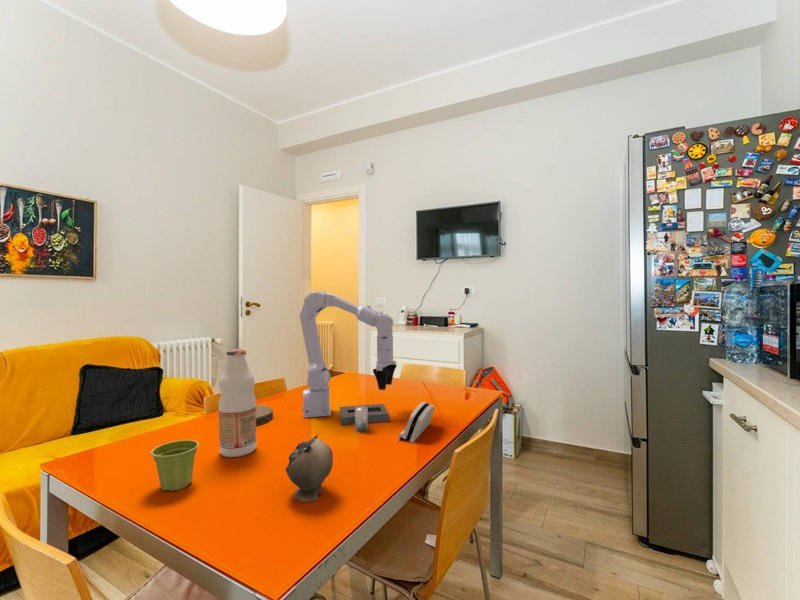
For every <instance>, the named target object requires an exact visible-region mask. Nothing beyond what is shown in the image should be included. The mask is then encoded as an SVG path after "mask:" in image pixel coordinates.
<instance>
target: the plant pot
mask: <svg viewBox="0 0 800 600" xmlns="http://www.w3.org/2000/svg"><path fill="white" fill-rule="evenodd" d="M199 445H200V444H199V441H197V440H194V439H193V440H192V439H181V440H175V441H174V440H173V441H170V442H166V443H163V444H160V445H158V446H156V447H154V448H153V449H152V450H151V451H150V455H151V456H152V457H153V460H154V462H155V465H156V470H157V476H158V480H159V485H160V489H161V490H162V491H164V492H165V491H171V492H174V491H178V490H181V489H184V488H186V487H187V486H188V485H189V484H191V483H192V481H193V480H192V479H193V472H194V464H195V456H196V452H197V448H198V447H199Z"/></svg>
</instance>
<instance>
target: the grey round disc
mask: <svg viewBox="0 0 800 600" xmlns="http://www.w3.org/2000/svg"><path fill="white" fill-rule="evenodd" d="M273 410H274V409H273V407H271V406H268V405H263V404H258V405H257V404H256V427H258V426H261V425H264V424H266V423H269V422H270V421H271V420H273V418H274V412H273Z"/></svg>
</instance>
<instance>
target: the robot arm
mask: <svg viewBox="0 0 800 600" xmlns="http://www.w3.org/2000/svg"><path fill="white" fill-rule="evenodd" d="M328 307H335V308H339V309H340V310H343V311H345V312H347V313H351V314H353V315H355V316H356V319H357V320H358V321H360V322H361V323H364V324H366V325H368V326H370V327H373V328H374V327H375V328H376V331H377V335H376V365H375V368H373V370H372V373H373V375H374V376H375V379H376V382H377V386H378V390H379V391H386V388H387V385H388V386H391V385H392V383H393V378H394V373H395V370H396V369H397V367H398V366H397V361H396V360H394V336H393V333H394V331H393V327H394V319H393V317H392V316H390V315H389V314H388V313H386V314H385V313H384V312H383V311H381V310H380V311H378V310H377V309H374V308H372V306H371V305H368V304H367V305H365V304H364V305H361V306H359V305H357V304H355V303H353V302H351V301H349V300H347V299H345V298H342V297H340V296H338V295H336V294H333V293H330V292H327V291H325V290H320V291H319V290H313V291H310V292H309V293H308V294H307V295H306V296H305V298H304V300H303V304H302V308H301V311H300V314H299V320H300V325H301V329H302V335H303V340H304V345H305V350H306V355H307V356H306V357H307V362H308V366H307V379H306V384H307V386H308V388H307V389H304V390H303V392H302V394H303V395H302V397H303V398H302V400H303V402H302V403H303V404H302V411H303V418H316V417H329V416H332V411H331V409H332V408H331V403H330V402H331V401H330V386H329V382H330V381H331V378H332V376H331V373H330V371H329V369H328V368H327V364H326V363H325V361H324V357H323V353H322V347H321V342H320V336H319V332H318V327H317V320H316V318H317V316H318V315H319V313H321V312H322V311H323V310H324V309H326V308H328Z"/></svg>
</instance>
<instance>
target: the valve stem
mask: <svg viewBox="0 0 800 600" xmlns="http://www.w3.org/2000/svg"><path fill="white" fill-rule="evenodd" d="M358 406H359V405H358ZM368 425H369V423H368V408H367V407H365V406H359V407H356V408H355V424H354V431H355V432H356V433H366V432H367V431H369V426H368Z"/></svg>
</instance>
